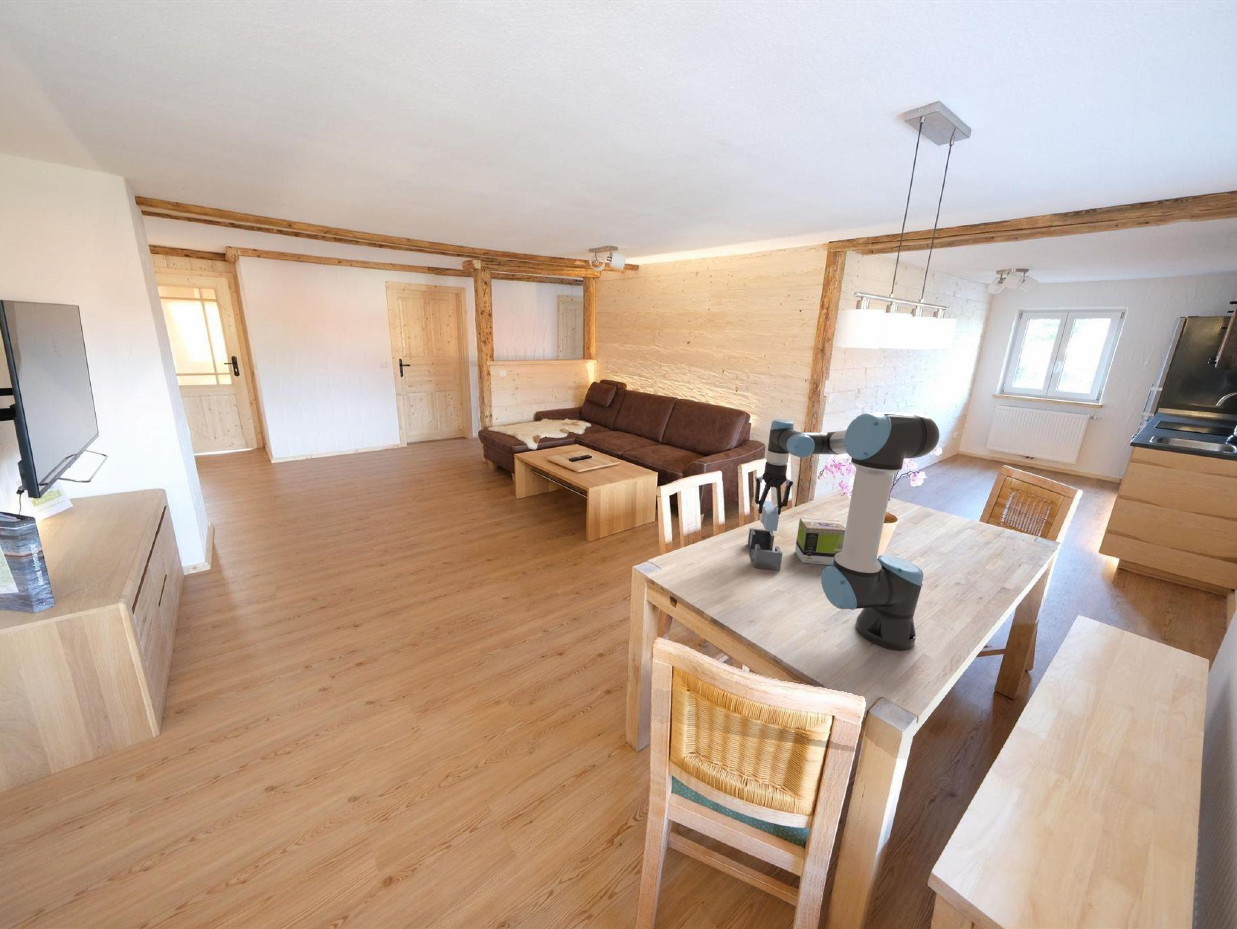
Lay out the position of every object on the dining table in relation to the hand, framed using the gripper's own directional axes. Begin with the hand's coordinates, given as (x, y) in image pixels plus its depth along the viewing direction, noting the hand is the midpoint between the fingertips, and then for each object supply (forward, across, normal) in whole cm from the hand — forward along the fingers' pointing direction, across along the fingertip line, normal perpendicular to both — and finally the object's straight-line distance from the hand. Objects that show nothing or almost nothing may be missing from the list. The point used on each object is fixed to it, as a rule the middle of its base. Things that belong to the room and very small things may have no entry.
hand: (767, 521), depth 176 cm
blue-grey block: (+1, 0, 0) cm, 1 cm away
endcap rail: (+14, 0, 0) cm, 14 cm away
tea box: (+15, -21, -3) cm, 26 cm away
